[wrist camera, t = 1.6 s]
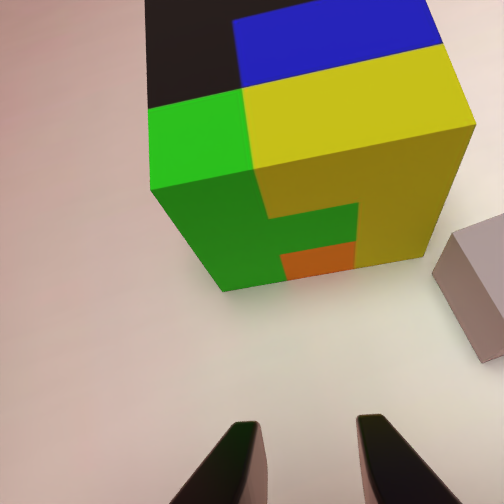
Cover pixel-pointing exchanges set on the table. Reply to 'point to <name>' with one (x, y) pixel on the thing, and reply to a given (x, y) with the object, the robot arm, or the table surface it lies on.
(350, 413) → the table surface
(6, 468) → the table surface
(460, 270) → the slate block
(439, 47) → the puzzle toy
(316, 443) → the table surface
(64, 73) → the table surface
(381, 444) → the robot arm
